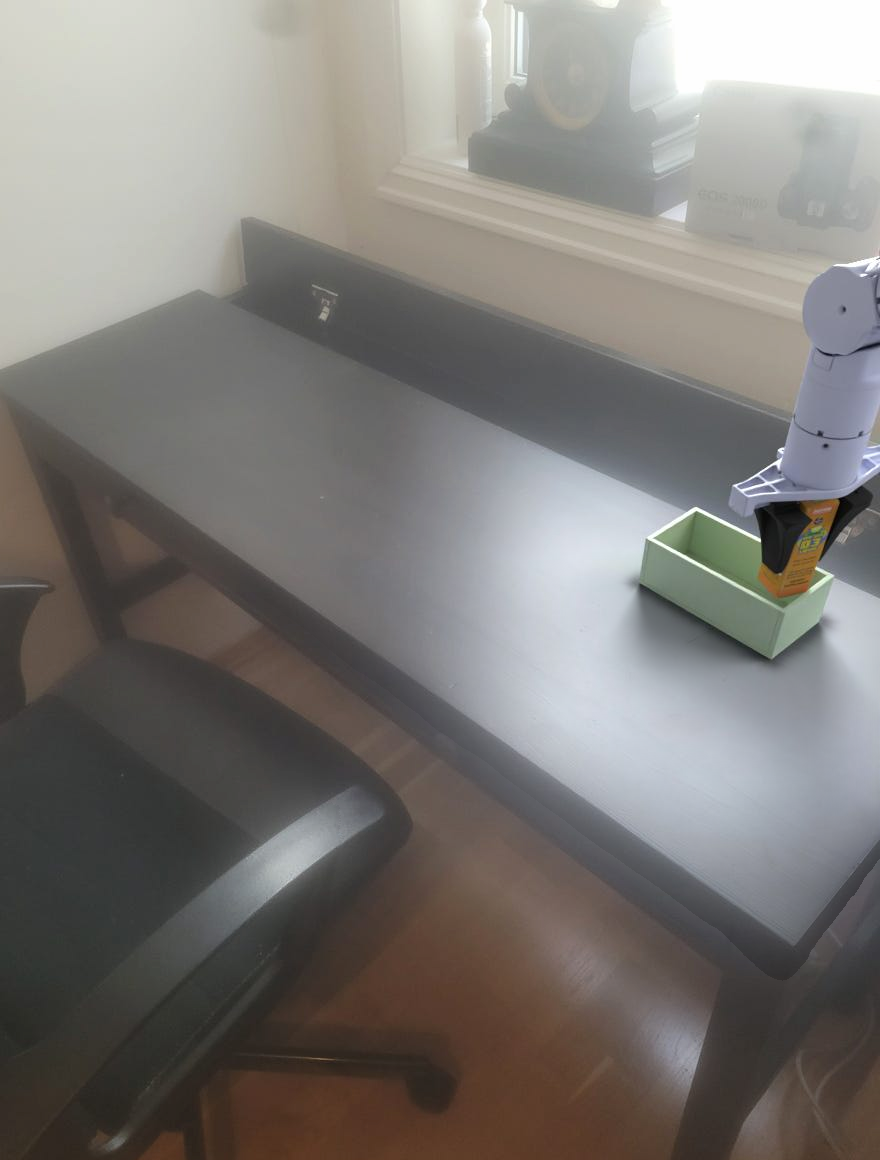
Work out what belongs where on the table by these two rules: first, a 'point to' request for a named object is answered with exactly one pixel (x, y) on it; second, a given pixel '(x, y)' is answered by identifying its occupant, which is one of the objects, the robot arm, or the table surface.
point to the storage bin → (728, 582)
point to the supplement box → (802, 551)
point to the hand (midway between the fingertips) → (791, 561)
